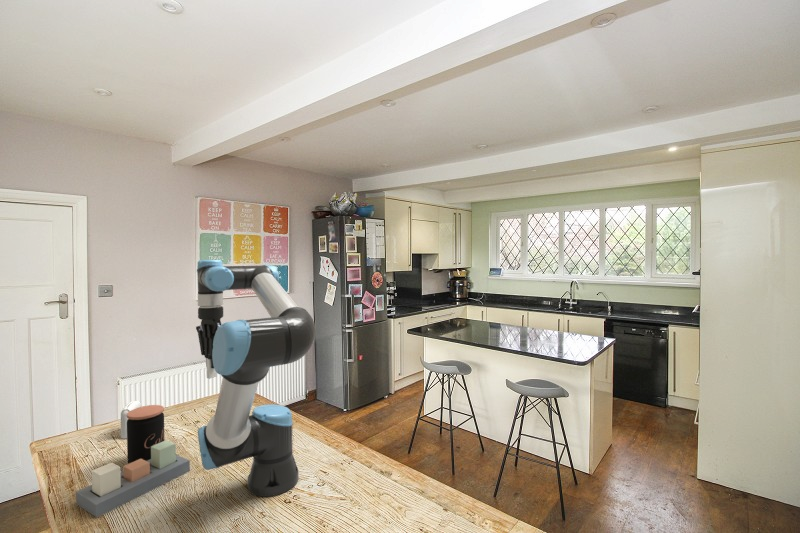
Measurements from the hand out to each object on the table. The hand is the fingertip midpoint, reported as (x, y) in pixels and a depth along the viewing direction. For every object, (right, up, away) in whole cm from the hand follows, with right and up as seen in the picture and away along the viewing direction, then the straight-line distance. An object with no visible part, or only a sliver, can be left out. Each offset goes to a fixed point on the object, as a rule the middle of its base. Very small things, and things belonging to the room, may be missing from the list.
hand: (211, 377), depth 127 cm
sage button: (-14, -28, -3) cm, 31 cm away
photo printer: (-45, -30, +26) cm, 60 cm away
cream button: (-22, -28, -17) cm, 39 cm away
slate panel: (-18, -31, -10) cm, 37 cm away
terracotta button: (-18, -30, -10) cm, 37 cm away
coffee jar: (-24, -31, +4) cm, 39 cm away
